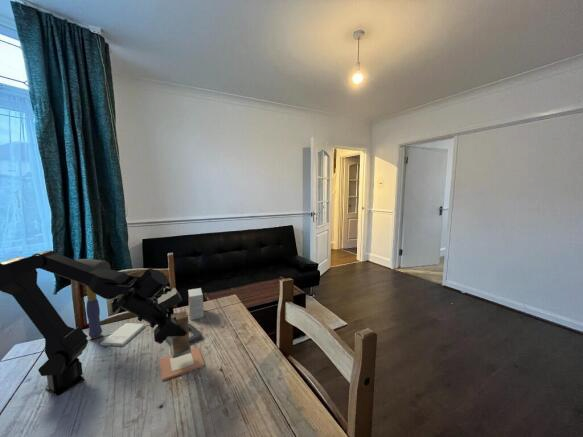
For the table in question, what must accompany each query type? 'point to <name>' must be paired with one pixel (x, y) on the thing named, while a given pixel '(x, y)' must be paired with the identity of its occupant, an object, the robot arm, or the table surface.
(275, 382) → the table surface
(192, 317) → the small box
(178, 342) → the walnut post
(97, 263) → the rubber mallet
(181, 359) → the pad
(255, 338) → the table surface
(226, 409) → the table surface
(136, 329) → the external hard drive
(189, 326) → the frame
